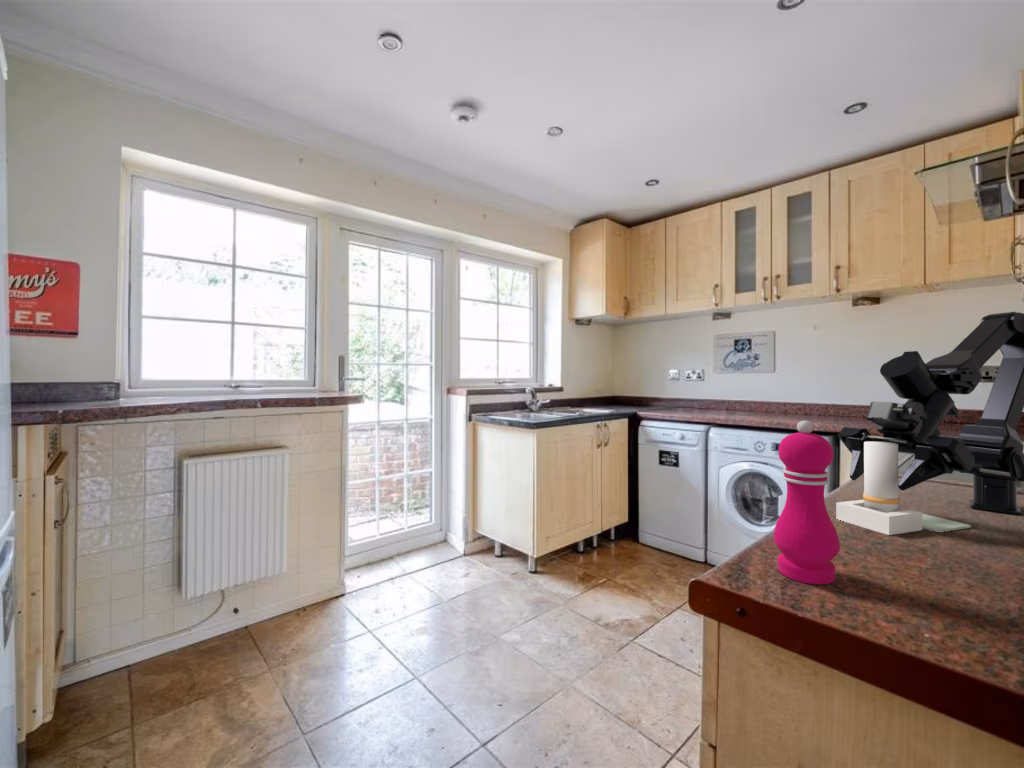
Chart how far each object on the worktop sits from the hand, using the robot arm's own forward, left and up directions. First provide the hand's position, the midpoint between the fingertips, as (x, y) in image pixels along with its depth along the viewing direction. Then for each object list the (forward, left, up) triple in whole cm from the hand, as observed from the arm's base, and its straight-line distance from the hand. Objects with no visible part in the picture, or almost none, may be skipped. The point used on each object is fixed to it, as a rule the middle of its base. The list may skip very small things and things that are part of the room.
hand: (874, 483), depth 79 cm
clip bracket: (-1, +1, -7) cm, 7 cm away
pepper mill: (+31, -3, -7) cm, 32 cm away
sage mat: (-7, +6, -7) cm, 12 cm away
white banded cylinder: (-1, +1, -7) cm, 7 cm away
